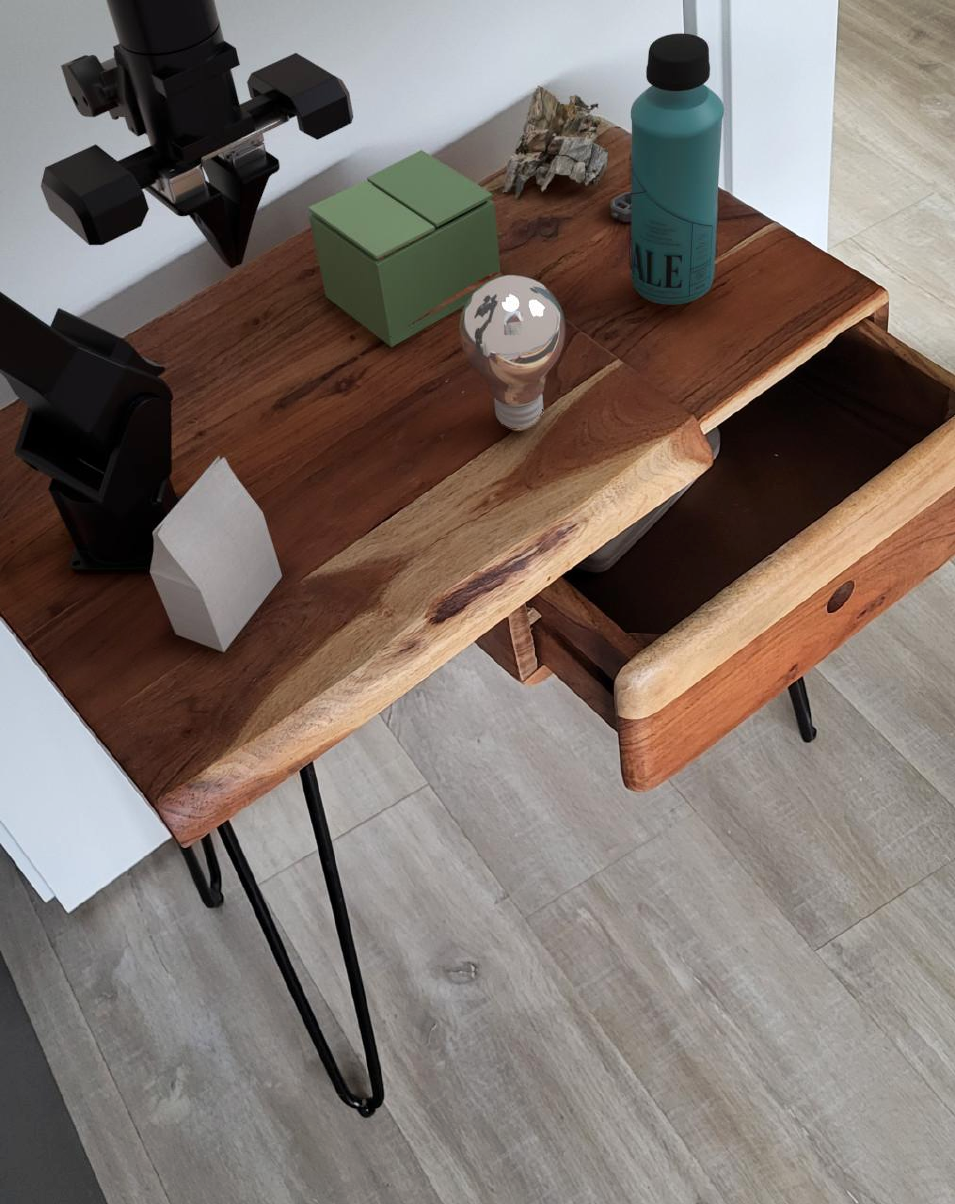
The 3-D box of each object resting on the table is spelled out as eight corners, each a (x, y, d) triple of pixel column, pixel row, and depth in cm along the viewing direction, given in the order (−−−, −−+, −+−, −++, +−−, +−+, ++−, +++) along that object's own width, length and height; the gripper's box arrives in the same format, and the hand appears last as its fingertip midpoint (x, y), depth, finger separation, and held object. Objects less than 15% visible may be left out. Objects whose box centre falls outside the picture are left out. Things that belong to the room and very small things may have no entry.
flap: (376, 259, 93) (376, 256, 93) (308, 210, 98) (308, 207, 98) (435, 230, 95) (435, 226, 95) (365, 183, 100) (365, 180, 100)
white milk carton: (282, 576, 85) (248, 464, 78) (224, 652, 82) (182, 542, 74) (235, 560, 87) (197, 448, 79) (175, 634, 83) (129, 524, 75)
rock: (633, 109, 117) (629, 68, 114) (598, 203, 108) (592, 160, 105) (542, 112, 120) (536, 72, 117) (499, 204, 110) (491, 163, 108)
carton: (391, 347, 99) (375, 257, 93) (325, 296, 104) (306, 207, 98) (501, 284, 103) (493, 193, 97) (433, 238, 108) (421, 149, 102)
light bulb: (456, 450, 91) (437, 310, 82) (491, 386, 96) (476, 245, 86) (552, 469, 89) (543, 326, 80) (583, 402, 94) (577, 260, 84)
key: (598, 215, 108) (628, 229, 106) (598, 204, 107) (627, 217, 105) (699, 156, 113) (728, 168, 111) (699, 145, 112) (729, 157, 110)
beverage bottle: (714, 270, 102) (729, 16, 87) (715, 324, 98) (731, 68, 83) (629, 271, 103) (629, 20, 88) (627, 325, 99) (626, 71, 83)
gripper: (233, -68, 82) (284, 159, 93) (-43, 45, 75) (49, 274, 87) (336, -13, 75) (376, 222, 87) (44, 115, 69) (131, 351, 81)
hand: (233, 263), depth 86 cm, fingers closed
